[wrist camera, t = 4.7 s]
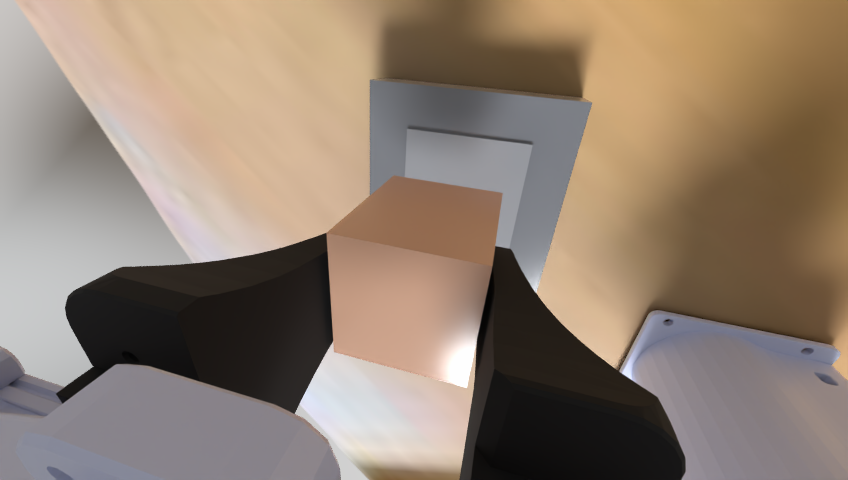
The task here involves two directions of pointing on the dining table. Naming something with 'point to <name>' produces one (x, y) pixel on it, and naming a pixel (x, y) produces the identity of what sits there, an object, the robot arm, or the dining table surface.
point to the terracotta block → (413, 276)
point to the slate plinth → (483, 151)
